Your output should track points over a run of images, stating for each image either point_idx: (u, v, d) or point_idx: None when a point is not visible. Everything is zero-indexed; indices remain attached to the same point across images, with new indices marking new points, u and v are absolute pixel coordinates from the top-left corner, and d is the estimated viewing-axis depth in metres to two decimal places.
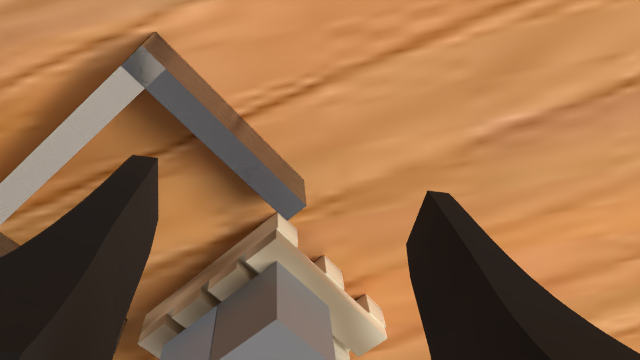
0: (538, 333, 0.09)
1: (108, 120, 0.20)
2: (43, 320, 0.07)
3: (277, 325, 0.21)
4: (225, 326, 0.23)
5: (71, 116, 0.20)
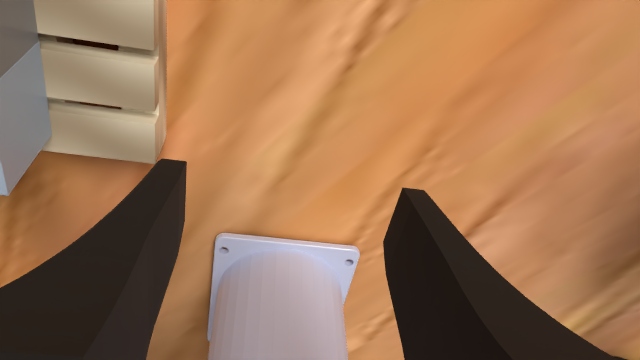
0: (500, 330, 0.09)
1: None
2: (97, 324, 0.07)
3: None
4: None
5: None
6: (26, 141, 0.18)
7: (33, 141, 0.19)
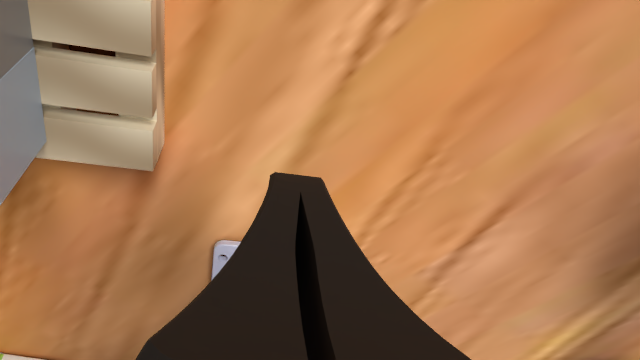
0: (339, 317, 0.08)
1: None
2: (299, 339, 0.07)
3: None
4: None
5: None
6: (20, 149, 0.18)
7: (27, 148, 0.18)
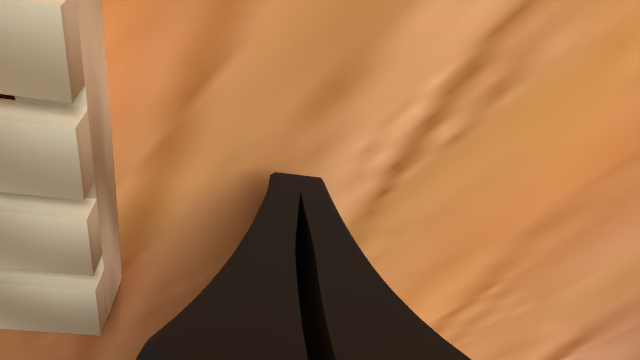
0: (339, 317, 0.08)
1: None
2: (299, 338, 0.07)
3: None
4: None
5: None
6: None
7: None
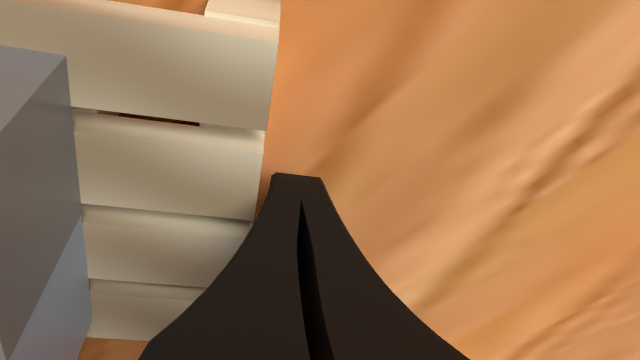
0: (337, 317, 0.08)
1: None
2: (301, 339, 0.07)
3: None
4: None
5: None
6: None
7: (70, 354, 0.13)
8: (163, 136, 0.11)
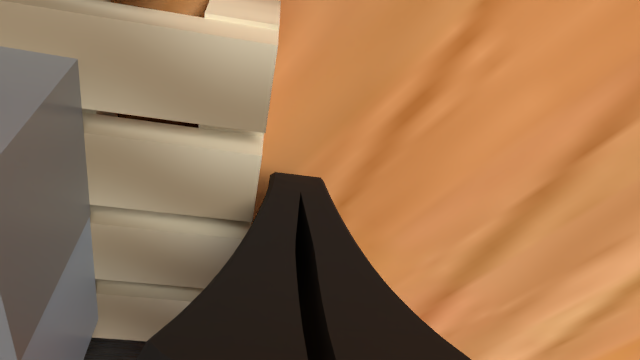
0: (339, 317, 0.08)
1: None
2: (299, 339, 0.07)
3: None
4: None
5: None
6: None
7: (77, 354, 0.13)
8: (162, 137, 0.11)
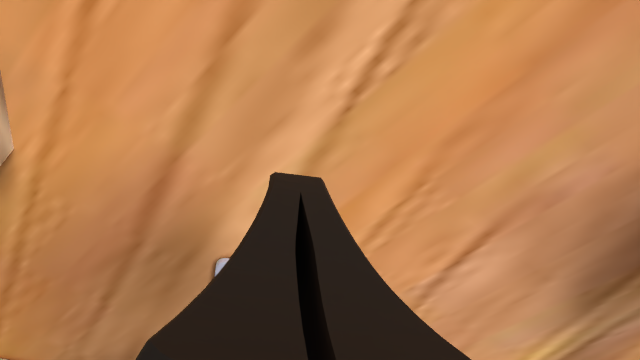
0: (339, 317, 0.08)
1: None
2: (299, 338, 0.07)
3: None
4: None
5: None
6: None
7: None
8: None
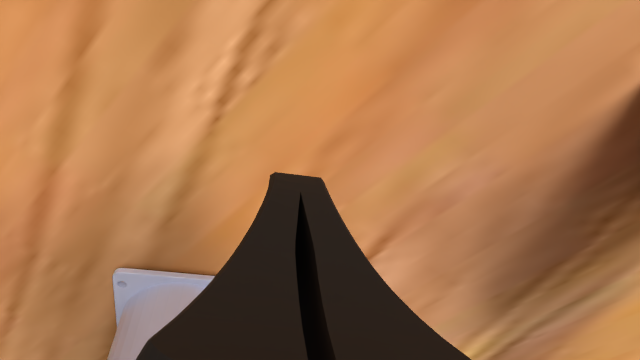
0: (339, 317, 0.08)
1: None
2: (299, 338, 0.07)
3: None
4: None
5: None
6: None
7: None
8: None
